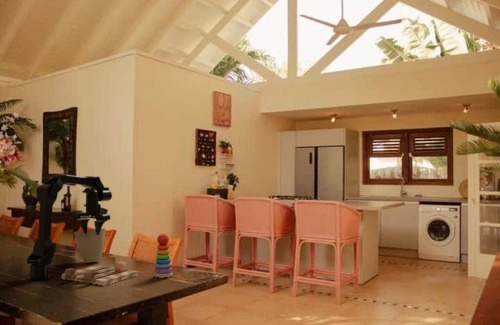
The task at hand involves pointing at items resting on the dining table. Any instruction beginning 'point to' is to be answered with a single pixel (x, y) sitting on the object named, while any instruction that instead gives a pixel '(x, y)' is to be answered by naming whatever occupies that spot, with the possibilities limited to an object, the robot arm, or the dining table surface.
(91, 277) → the strip
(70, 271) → the strip
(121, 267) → the pink egg
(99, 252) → the plant pot
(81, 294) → the dining table surface
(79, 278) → the lane board
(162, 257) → the stacking toy
